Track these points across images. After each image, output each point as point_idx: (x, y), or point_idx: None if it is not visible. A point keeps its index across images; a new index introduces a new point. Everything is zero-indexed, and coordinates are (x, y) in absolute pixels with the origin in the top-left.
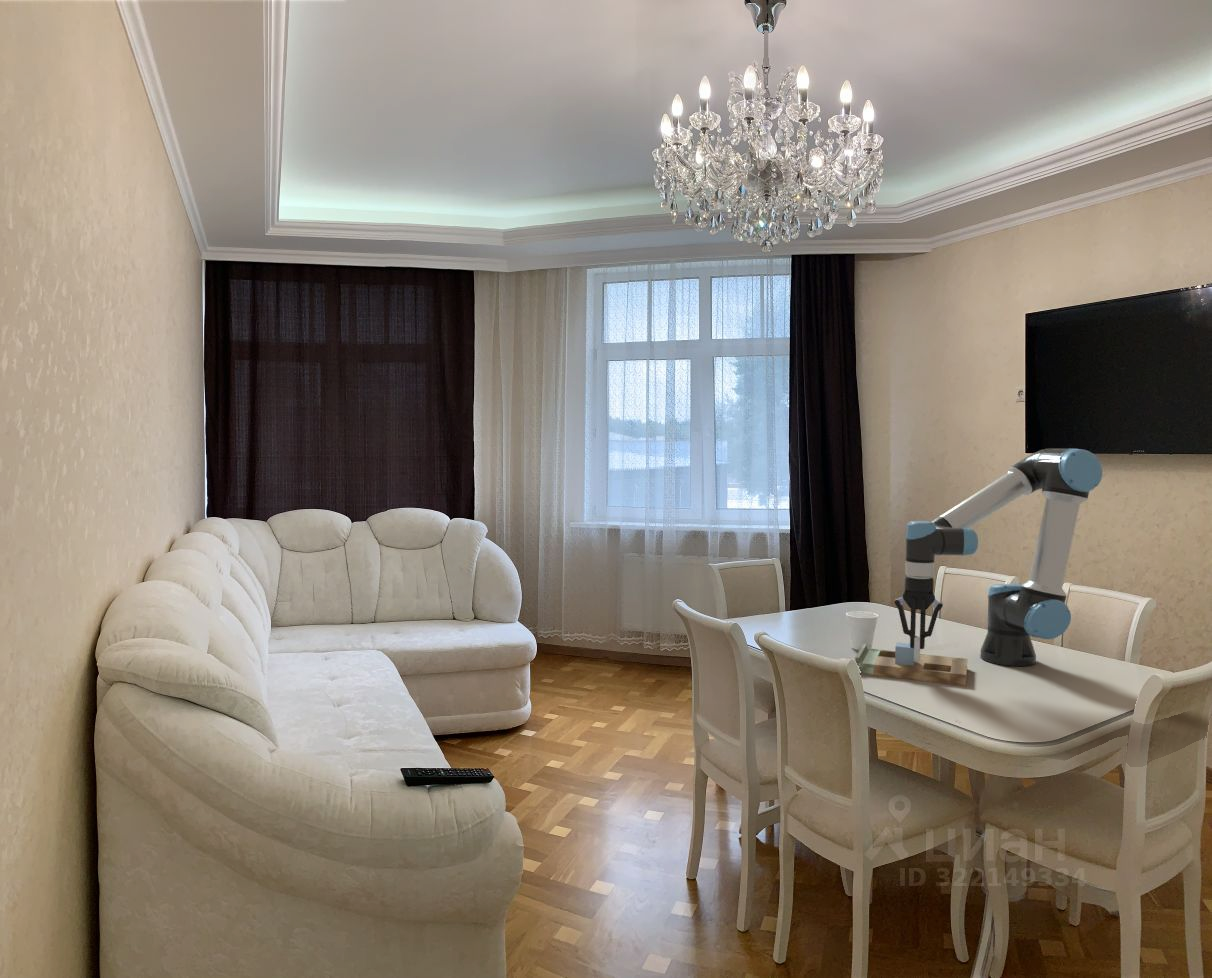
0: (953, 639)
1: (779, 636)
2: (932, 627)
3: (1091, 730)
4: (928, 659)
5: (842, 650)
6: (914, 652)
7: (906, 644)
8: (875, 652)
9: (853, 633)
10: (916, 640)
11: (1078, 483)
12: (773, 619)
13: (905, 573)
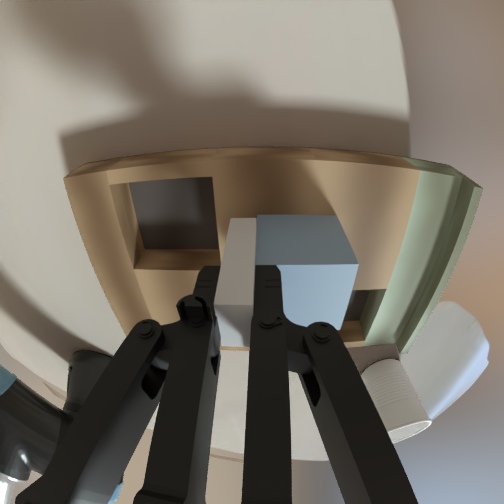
0: (218, 428)
1: (483, 357)
2: (110, 374)
3: None
4: None
5: (422, 345)
6: (253, 241)
7: (299, 315)
8: (383, 320)
9: (411, 387)
10: (239, 291)
11: None
12: (450, 404)
13: None
